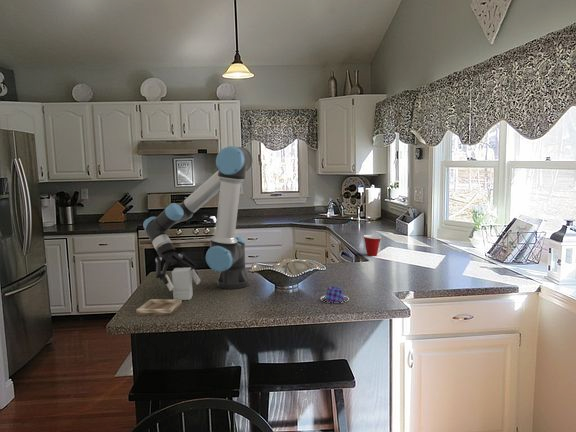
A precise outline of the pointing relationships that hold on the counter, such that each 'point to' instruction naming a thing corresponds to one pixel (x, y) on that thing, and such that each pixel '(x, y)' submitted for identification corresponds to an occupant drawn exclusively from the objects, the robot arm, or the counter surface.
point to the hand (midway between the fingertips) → (185, 285)
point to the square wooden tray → (159, 307)
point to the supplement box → (182, 283)
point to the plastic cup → (372, 244)
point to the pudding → (334, 295)
